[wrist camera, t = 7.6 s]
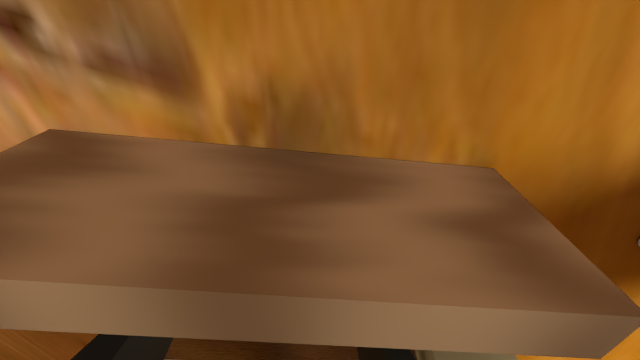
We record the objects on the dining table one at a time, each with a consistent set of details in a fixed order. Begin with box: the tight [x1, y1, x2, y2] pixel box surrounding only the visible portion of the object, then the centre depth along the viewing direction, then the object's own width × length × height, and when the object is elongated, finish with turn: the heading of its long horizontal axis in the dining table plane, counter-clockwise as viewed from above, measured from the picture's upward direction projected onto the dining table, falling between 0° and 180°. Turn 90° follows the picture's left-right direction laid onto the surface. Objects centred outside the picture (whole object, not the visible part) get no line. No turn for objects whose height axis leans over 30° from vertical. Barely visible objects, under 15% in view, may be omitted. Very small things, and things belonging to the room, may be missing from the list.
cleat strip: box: [164, 338, 417, 360], centre depth 16 cm, size 16×1×2 cm, turn 84°
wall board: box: [0, 129, 640, 359], centre depth 8 cm, size 16×2×6 cm, turn 84°
